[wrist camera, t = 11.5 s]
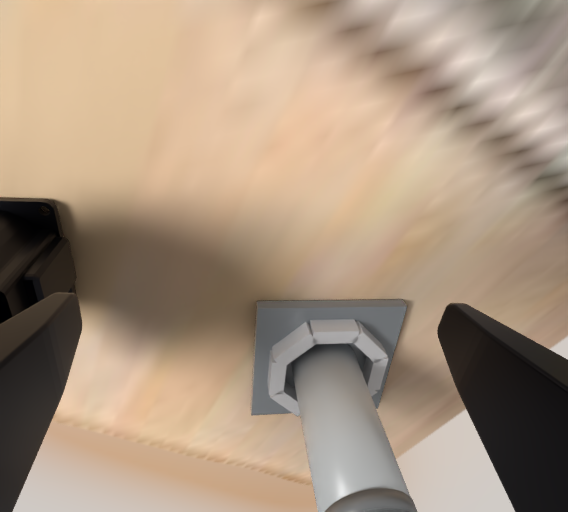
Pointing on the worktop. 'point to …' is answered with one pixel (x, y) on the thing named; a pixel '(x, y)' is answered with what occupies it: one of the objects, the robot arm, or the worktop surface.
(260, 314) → the ring socket board
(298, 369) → the canister
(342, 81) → the worktop surface
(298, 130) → the worktop surface
